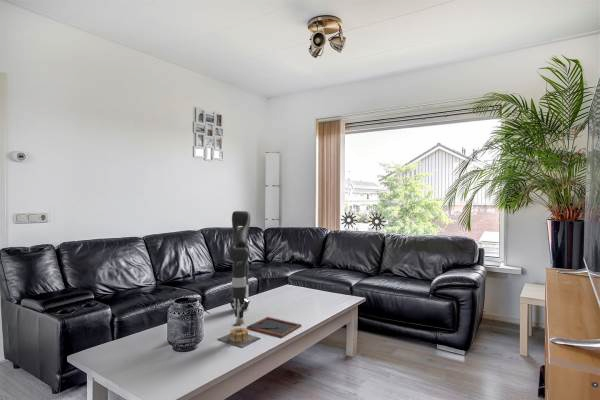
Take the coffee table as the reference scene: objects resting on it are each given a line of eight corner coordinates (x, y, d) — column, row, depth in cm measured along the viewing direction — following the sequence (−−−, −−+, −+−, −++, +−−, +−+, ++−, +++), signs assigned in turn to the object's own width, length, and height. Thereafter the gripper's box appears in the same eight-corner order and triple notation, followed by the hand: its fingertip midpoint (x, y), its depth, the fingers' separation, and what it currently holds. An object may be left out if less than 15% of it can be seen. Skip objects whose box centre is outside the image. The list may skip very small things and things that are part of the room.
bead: (234, 324, 208) (234, 319, 208) (239, 322, 212) (239, 317, 212) (239, 325, 206) (239, 320, 206) (245, 323, 209) (245, 318, 209)
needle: (235, 325, 185) (235, 303, 185) (238, 324, 187) (238, 301, 187) (239, 326, 184) (239, 303, 184) (242, 325, 186) (242, 302, 186)
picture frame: (246, 329, 201) (282, 339, 188) (246, 326, 201) (282, 335, 188) (267, 319, 218) (301, 327, 205) (267, 316, 218) (301, 324, 205)
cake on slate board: (217, 339, 185) (217, 331, 185) (236, 331, 196) (236, 323, 196) (242, 347, 175) (242, 339, 175) (260, 338, 186) (260, 330, 186)
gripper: (224, 284, 186) (224, 316, 186) (243, 288, 179) (243, 322, 179) (234, 281, 193) (234, 313, 193) (253, 285, 185) (253, 317, 185)
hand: (239, 317), depth 186 cm, fingers closed on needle, 2 cm apart
